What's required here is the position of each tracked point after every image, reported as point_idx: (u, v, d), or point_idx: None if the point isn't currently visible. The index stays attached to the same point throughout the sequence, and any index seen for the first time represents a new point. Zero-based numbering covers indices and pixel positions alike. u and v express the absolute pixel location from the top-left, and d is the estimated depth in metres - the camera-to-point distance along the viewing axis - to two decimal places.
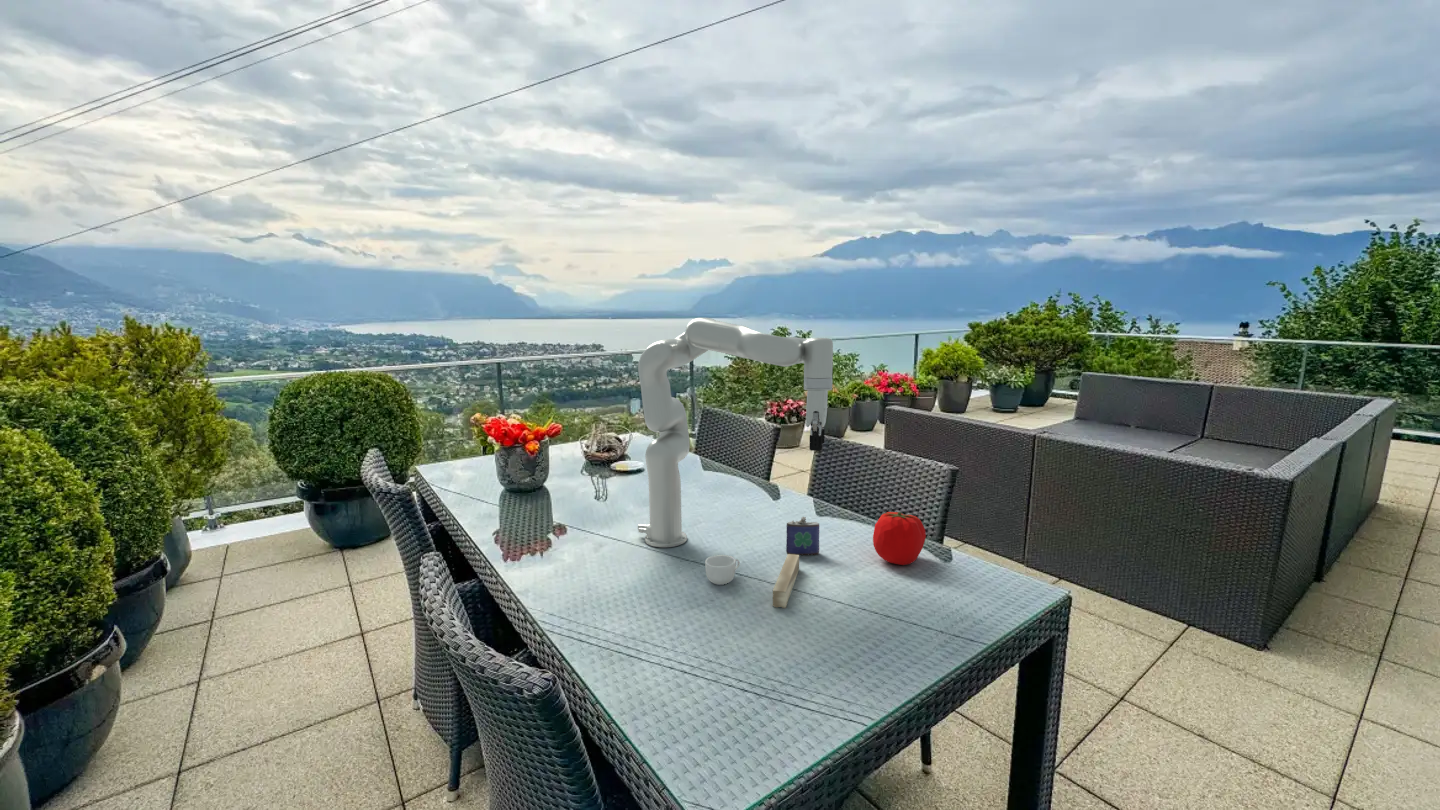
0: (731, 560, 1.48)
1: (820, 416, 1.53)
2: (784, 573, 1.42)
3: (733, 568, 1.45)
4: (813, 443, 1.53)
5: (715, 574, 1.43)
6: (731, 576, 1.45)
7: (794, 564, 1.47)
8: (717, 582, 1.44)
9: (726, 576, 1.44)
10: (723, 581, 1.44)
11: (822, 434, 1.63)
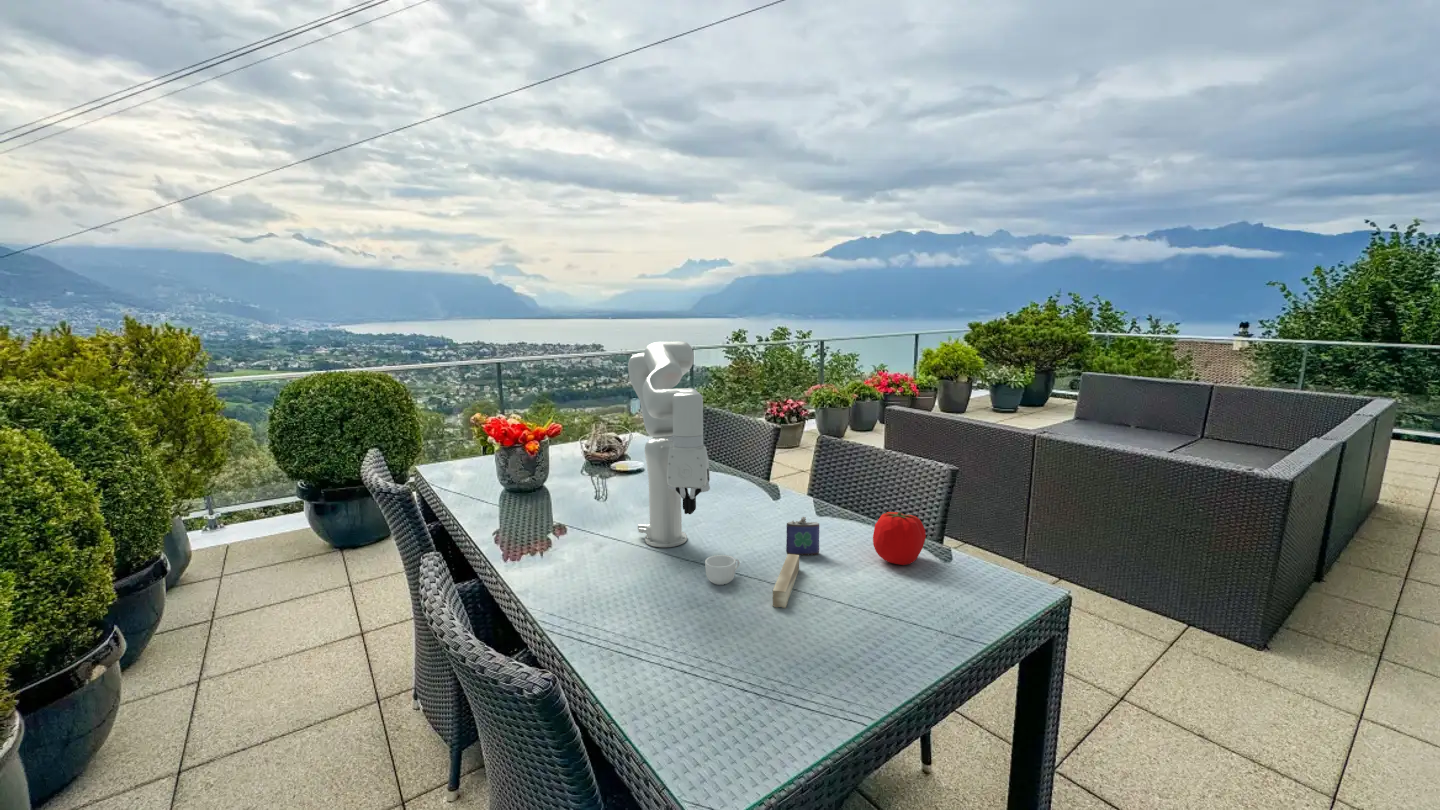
0: (731, 560, 1.48)
1: (709, 472, 1.46)
2: (784, 573, 1.42)
3: (733, 568, 1.45)
4: (694, 505, 1.47)
5: (715, 574, 1.43)
6: (731, 576, 1.45)
7: (794, 564, 1.47)
8: (717, 582, 1.44)
9: (726, 576, 1.44)
10: (723, 581, 1.44)
11: None
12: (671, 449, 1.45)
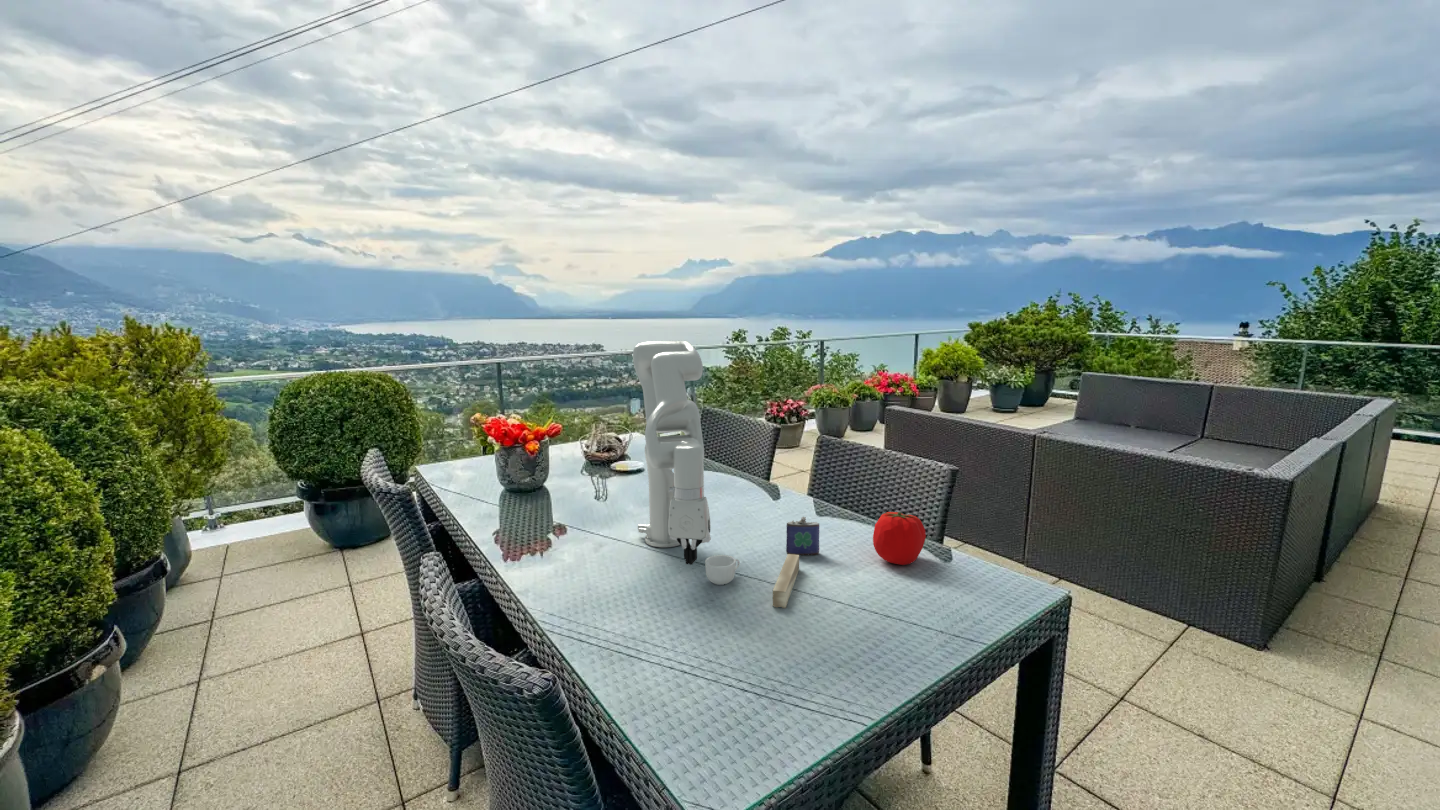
0: (731, 560, 1.48)
1: None
2: (784, 573, 1.42)
3: (733, 568, 1.45)
4: (695, 556, 1.48)
5: (715, 574, 1.43)
6: (731, 576, 1.45)
7: (794, 564, 1.47)
8: (717, 582, 1.44)
9: (726, 576, 1.44)
10: (723, 581, 1.44)
11: None
12: (672, 500, 1.46)
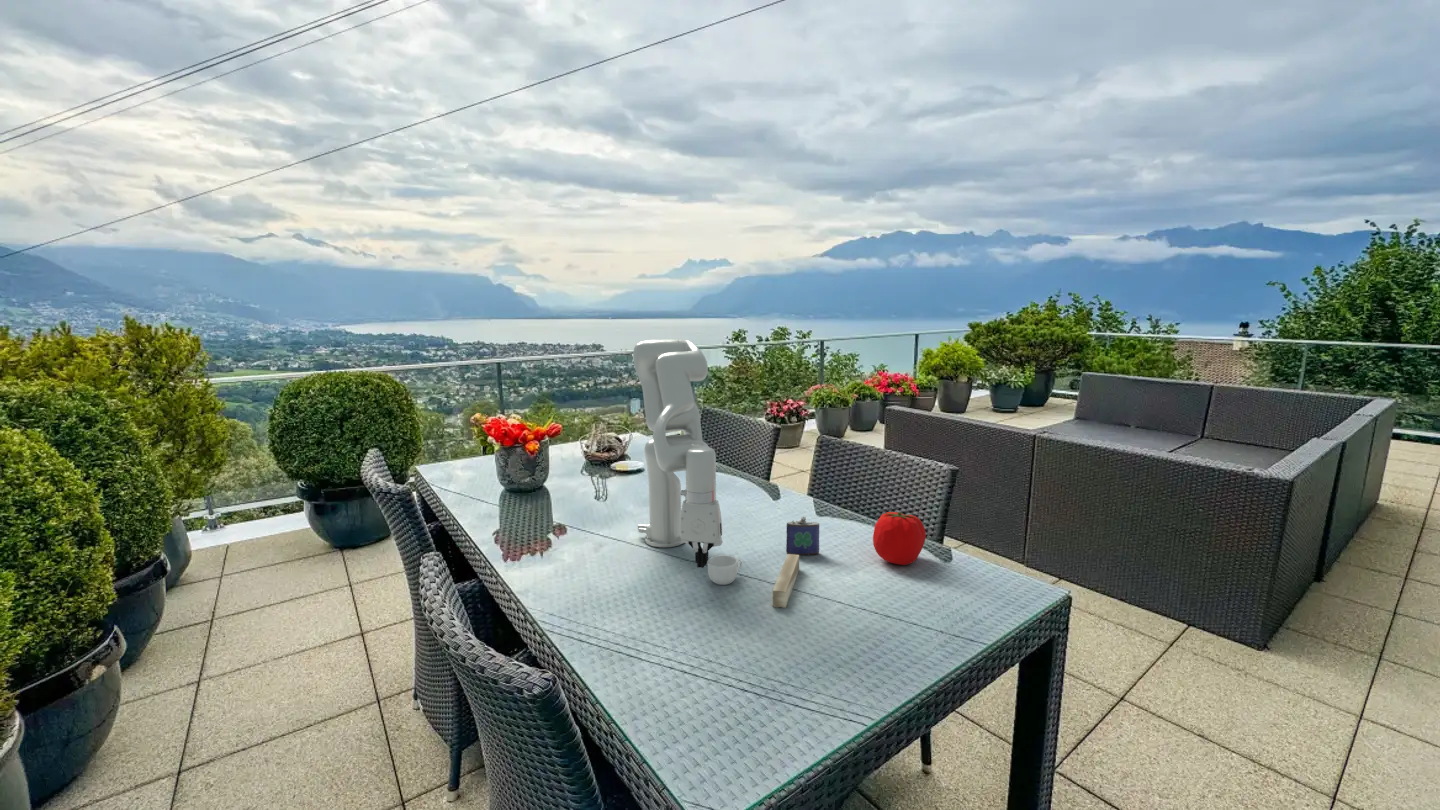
0: (733, 560, 1.48)
1: (721, 526, 1.47)
2: (784, 573, 1.42)
3: (735, 568, 1.44)
4: (706, 559, 1.48)
5: (717, 574, 1.43)
6: (733, 576, 1.44)
7: (794, 564, 1.47)
8: (719, 582, 1.44)
9: (728, 576, 1.43)
10: (725, 581, 1.44)
11: None
12: (684, 504, 1.46)
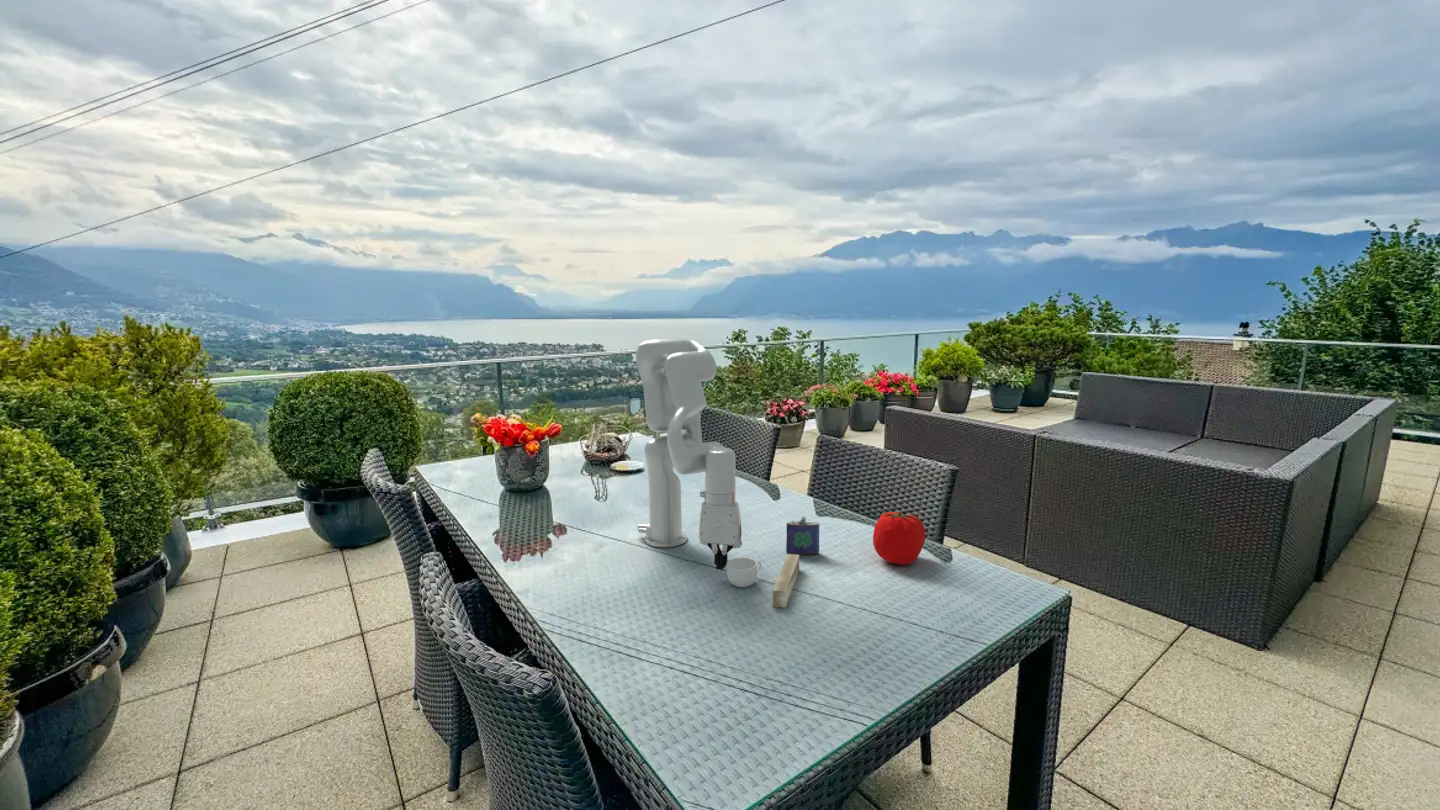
0: (753, 562, 1.47)
1: (741, 528, 1.46)
2: (784, 573, 1.42)
3: (755, 570, 1.43)
4: (726, 561, 1.47)
5: (737, 576, 1.42)
6: (753, 579, 1.43)
7: (794, 564, 1.47)
8: (739, 585, 1.42)
9: (748, 579, 1.42)
10: (745, 584, 1.42)
11: None
12: (703, 505, 1.44)
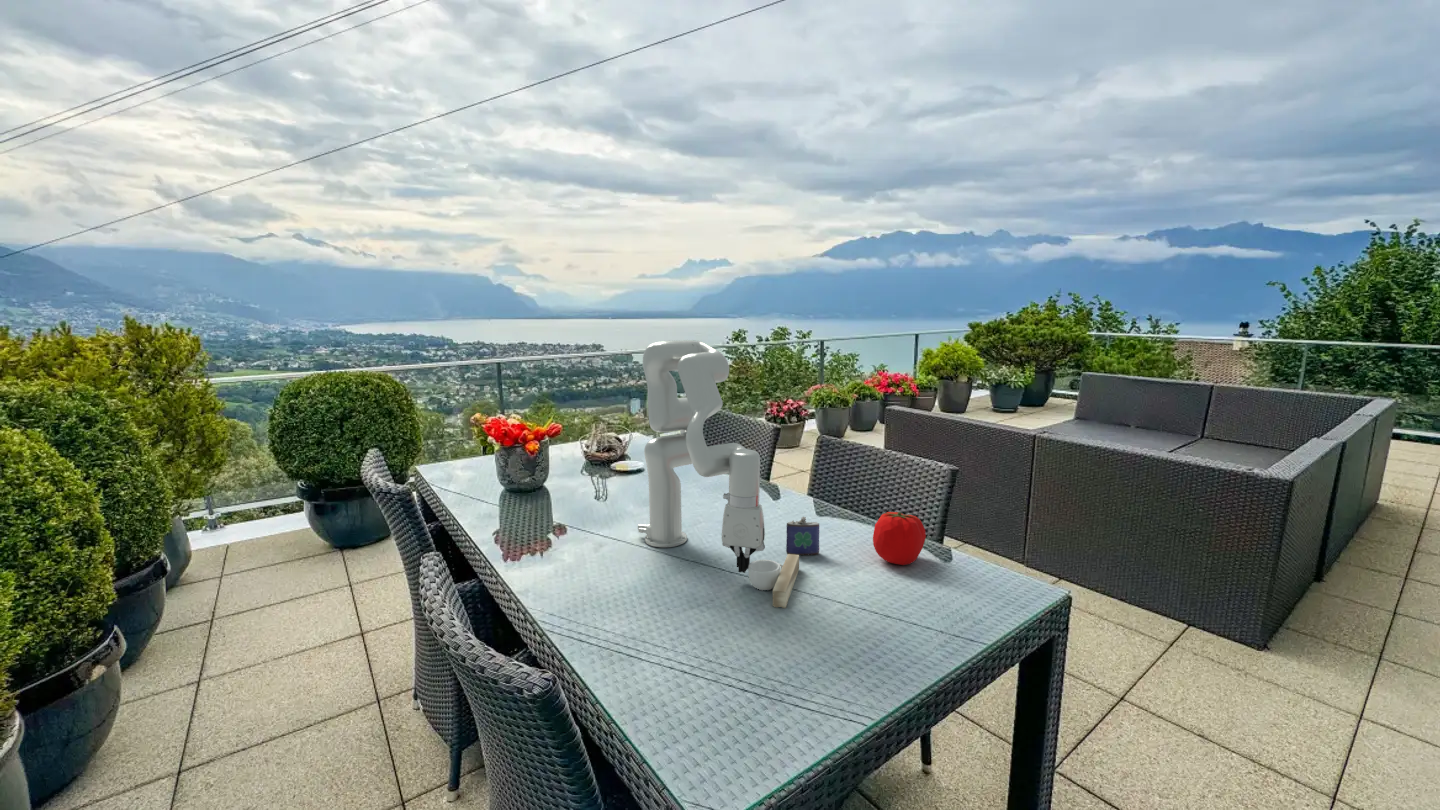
0: (775, 565, 1.45)
1: (764, 531, 1.44)
2: (784, 573, 1.42)
3: (777, 573, 1.41)
4: (748, 564, 1.45)
5: (759, 580, 1.40)
6: (775, 582, 1.41)
7: (794, 564, 1.47)
8: (761, 588, 1.41)
9: (770, 582, 1.40)
10: (767, 587, 1.40)
11: None
12: (727, 508, 1.43)
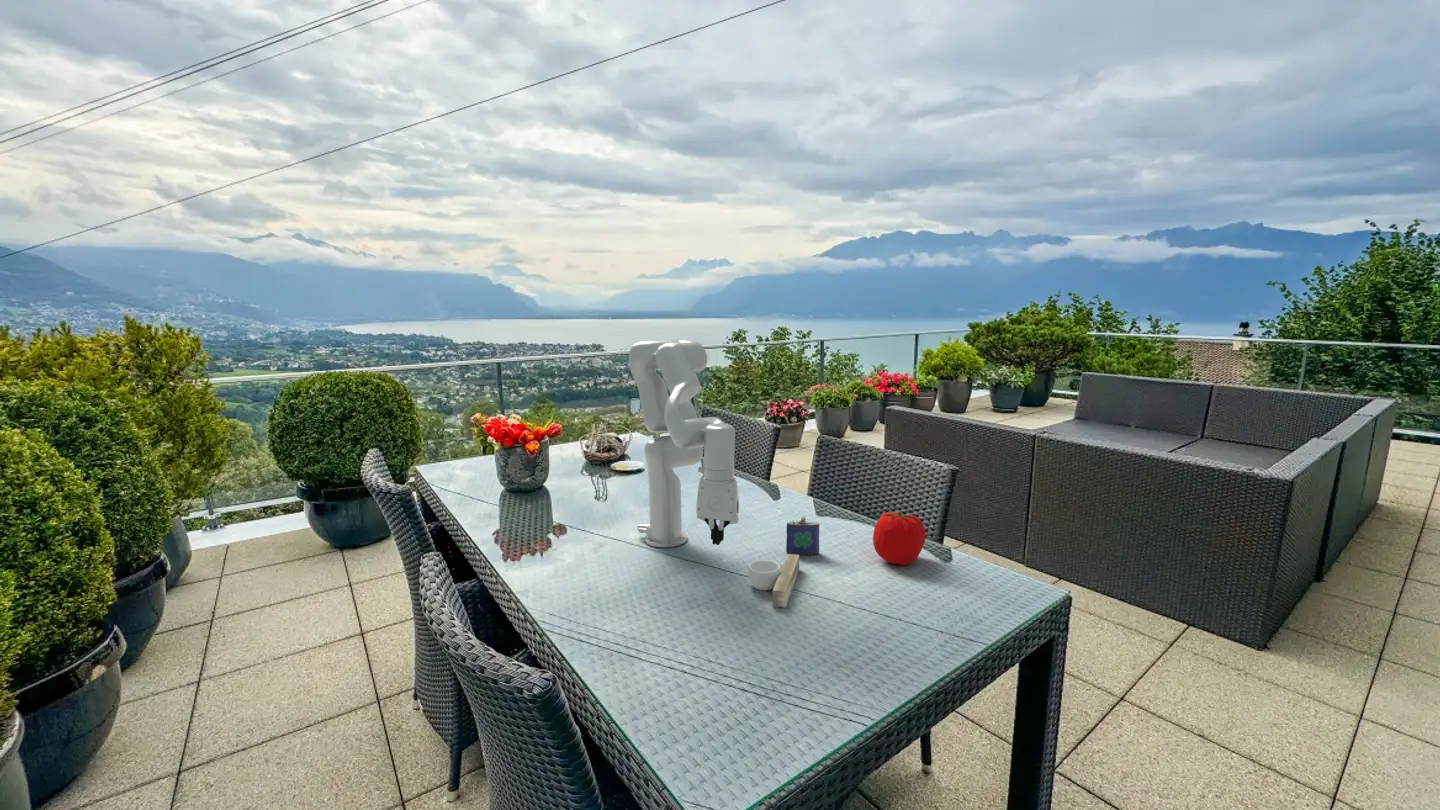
0: (775, 565, 1.45)
1: (738, 504, 1.46)
2: (784, 573, 1.42)
3: (777, 574, 1.41)
4: (722, 536, 1.47)
5: (759, 580, 1.40)
6: (775, 582, 1.41)
7: (794, 564, 1.47)
8: (761, 588, 1.41)
9: (770, 582, 1.40)
10: (767, 587, 1.40)
11: None
12: (701, 481, 1.44)
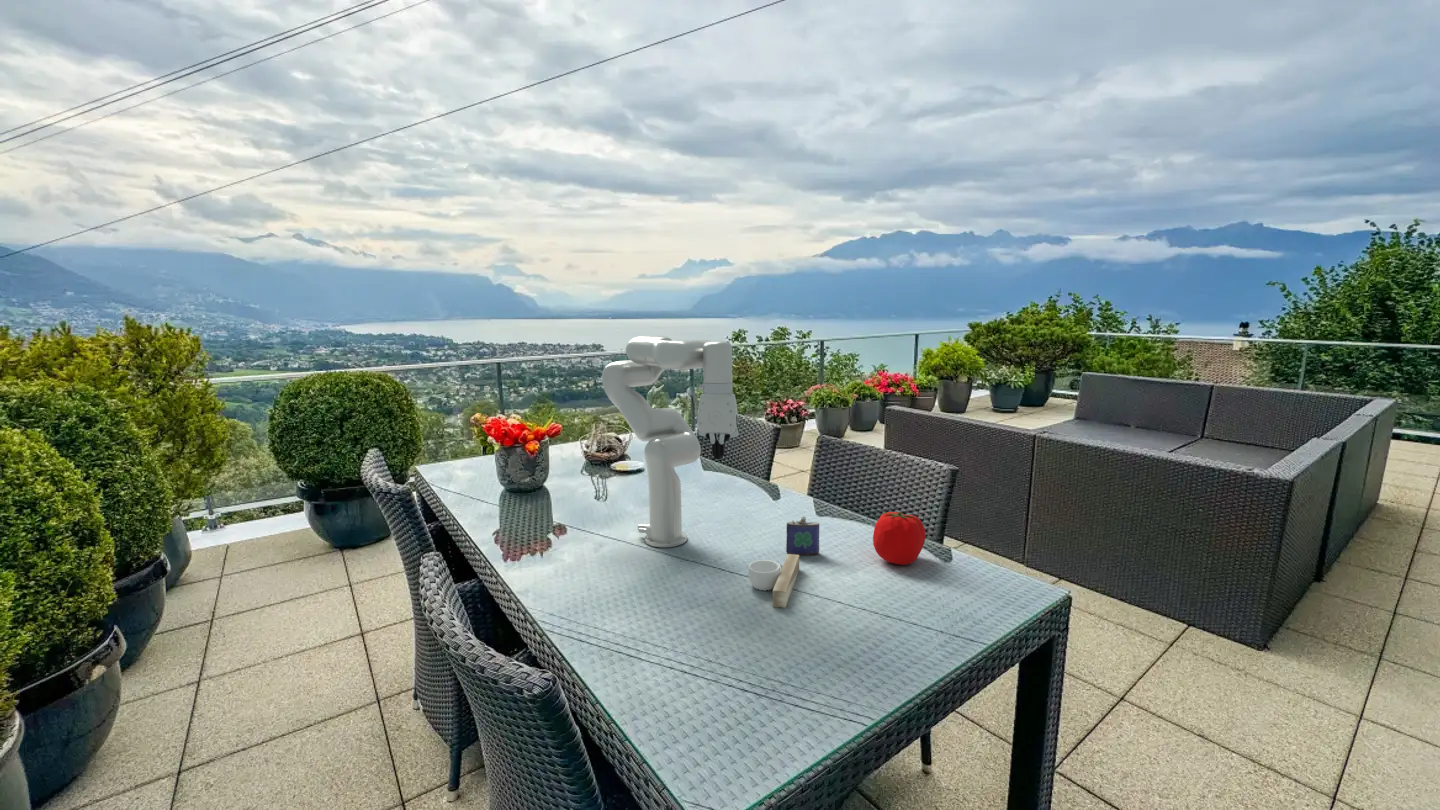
0: (775, 565, 1.45)
1: (737, 419, 1.53)
2: (784, 573, 1.42)
3: (778, 574, 1.41)
4: (723, 451, 1.53)
5: (759, 580, 1.40)
6: (775, 582, 1.41)
7: (794, 564, 1.47)
8: (761, 588, 1.41)
9: (770, 582, 1.40)
10: (767, 587, 1.40)
11: None
12: (702, 396, 1.51)
